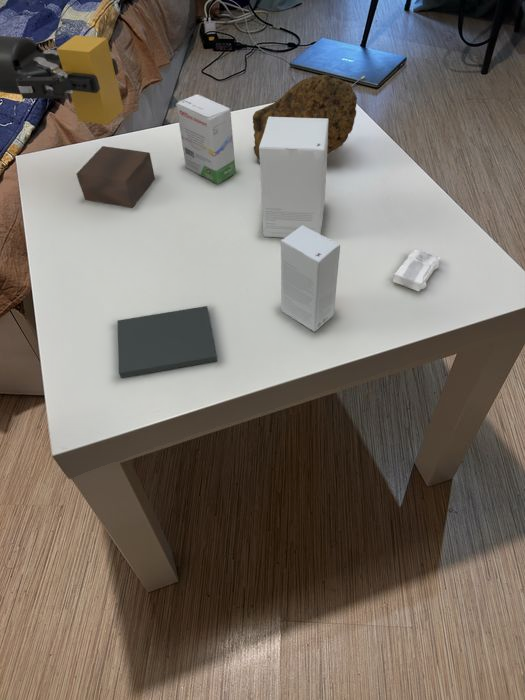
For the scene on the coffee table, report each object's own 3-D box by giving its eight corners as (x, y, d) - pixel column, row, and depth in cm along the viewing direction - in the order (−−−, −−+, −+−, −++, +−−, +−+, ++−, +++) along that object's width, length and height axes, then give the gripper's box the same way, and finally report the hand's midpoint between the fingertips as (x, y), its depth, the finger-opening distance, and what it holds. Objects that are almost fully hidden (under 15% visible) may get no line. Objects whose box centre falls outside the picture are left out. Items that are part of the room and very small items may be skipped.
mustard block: (78, 121, 78) (56, 48, 70) (95, 106, 81) (75, 35, 73) (108, 125, 77) (89, 51, 69) (124, 109, 80) (107, 37, 72)
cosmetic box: (334, 315, 70) (342, 244, 61) (314, 333, 68) (319, 262, 59) (300, 294, 73) (302, 223, 63) (279, 311, 71) (279, 240, 61)
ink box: (237, 173, 93) (232, 107, 84) (217, 185, 90) (209, 118, 81) (204, 156, 96) (196, 91, 87) (184, 167, 94) (173, 102, 85)
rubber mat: (120, 378, 64) (118, 373, 64) (119, 325, 70) (117, 320, 69) (217, 361, 66) (216, 356, 65) (207, 310, 71) (207, 305, 70)
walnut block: (84, 200, 89) (75, 173, 85) (109, 171, 94) (102, 145, 90) (132, 208, 87) (125, 181, 83) (155, 178, 92) (149, 152, 88)
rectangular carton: (324, 206, 85) (331, 116, 74) (320, 241, 80) (326, 149, 68) (269, 203, 87) (267, 114, 75) (261, 237, 81) (257, 146, 69)
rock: (295, 176, 104) (384, 119, 92) (271, 191, 95) (366, 131, 83) (261, 114, 101) (348, 47, 89) (232, 124, 92) (325, 51, 80)
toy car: (388, 284, 73) (391, 272, 72) (411, 252, 77) (414, 240, 76) (420, 296, 72) (423, 284, 70) (441, 263, 76) (445, 251, 74)
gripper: (40, 71, 85) (135, 81, 81) (-14, 112, 76) (89, 125, 72) (23, 19, 79) (124, 27, 75) (-39, 56, 70) (72, 68, 67)
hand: (106, 75), depth 74 cm, fingers closed on mustard block, 5 cm apart
